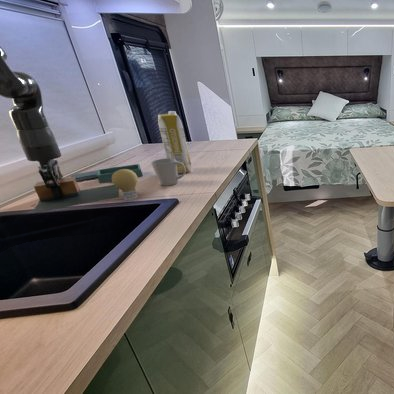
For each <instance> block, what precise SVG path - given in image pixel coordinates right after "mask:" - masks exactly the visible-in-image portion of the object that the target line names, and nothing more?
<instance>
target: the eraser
mask: <svg viewBox="0 0 394 394" xmlns="http://www.w3.org/2000/svg"><path fill="white" fill-rule="evenodd" d="M58 181H59V184H60V187H61V190H62V192H63V195H64V197H63V198H65V197H71V196H77V195H79V193H80V190H81V189H80V187H79V184H78V181H76V179H75V177H71V176H70V177H65V178H64V177H63V178H62V179H58ZM50 183H54V182H53V181H52V180H50ZM33 189H34V190H35V193H36V195H37V197H38V200H39V201H40V202H42V201H48V200H54V199H55V198H54V196H53V194H52V192H51V189H50V188H47V187H46V185H45V183H44V181H43V180H42V181H37V182H36V183H35V185H34V186H33Z"/></svg>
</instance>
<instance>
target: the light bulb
mask: <svg viewBox="0 0 394 394" xmlns="http://www.w3.org/2000/svg"><path fill="white" fill-rule="evenodd" d="M138 181H139V177H137V175H136V174H135V173H134V172H133V171H131V170H128V169H121V170H118V171H116V172H114V173H113V175H112V181H111V183H112V185H115V186H116V187H117V188H119V191H121V194H122V197H123V198H122V199H123V201H133V200H136V199H138V198H139V195H138V192H137V189H136V186H137V184H138Z"/></svg>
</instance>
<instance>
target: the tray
mask: <svg viewBox="0 0 394 394" xmlns="http://www.w3.org/2000/svg"><path fill="white" fill-rule="evenodd" d="M113 167H114V168H112V167H106V168H100V169H97V170H98V173H97V177H96V178H97V180H98V183H99V184H104V183H110V182H112V175H113V173H114V172H116V171H118V170H121V169H128V170H131V171H133V172H134V173H135V174H136V175H137V177H138V178H139V177H143V172H142V168H141V165H140V163H135V164H129V165H122V166H113Z"/></svg>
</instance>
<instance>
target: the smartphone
mask: <svg viewBox="0 0 394 394" xmlns="http://www.w3.org/2000/svg"><path fill="white" fill-rule="evenodd" d="M114 167H115V166H112V167H111V168H114ZM98 170H99V169H97V170H91V171H85V172H80V173H74V174H71V175H70V177H75V179H76V181H77V182H81V181H86V180H90V179H97V178H98V177H97V173H98Z"/></svg>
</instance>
